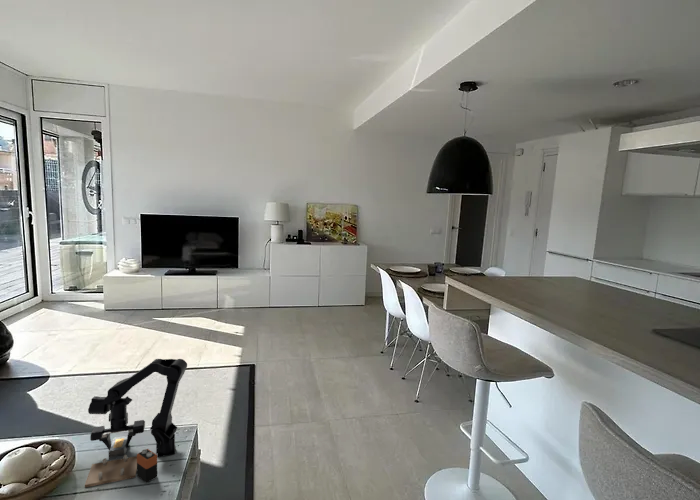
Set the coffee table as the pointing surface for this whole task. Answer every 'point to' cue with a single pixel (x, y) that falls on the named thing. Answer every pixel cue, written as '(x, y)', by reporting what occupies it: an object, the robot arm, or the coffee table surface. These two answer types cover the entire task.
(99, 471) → the brown board with pegs
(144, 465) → the battery
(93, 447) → the coffee table surface
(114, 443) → the block
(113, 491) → the coffee table surface
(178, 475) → the coffee table surface
